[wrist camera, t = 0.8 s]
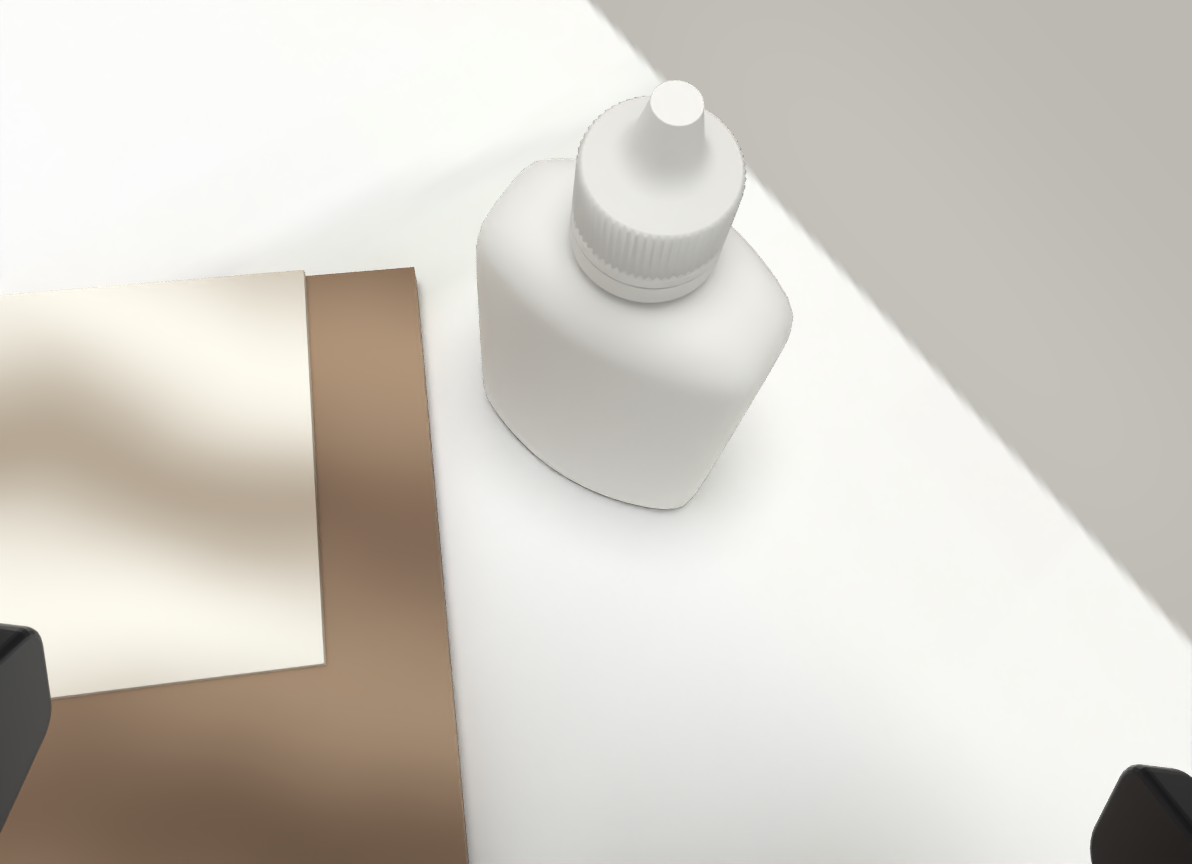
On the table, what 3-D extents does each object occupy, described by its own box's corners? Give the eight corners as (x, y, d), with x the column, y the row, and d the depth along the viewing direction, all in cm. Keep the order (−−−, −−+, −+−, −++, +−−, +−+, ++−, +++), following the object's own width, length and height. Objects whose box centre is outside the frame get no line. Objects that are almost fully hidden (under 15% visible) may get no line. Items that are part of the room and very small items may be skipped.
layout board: (529, 1537, 18) (530, 1582, 17) (-229, 1708, 16) (-278, 1769, 15) (417, 282, 25) (412, 260, 24) (-109, 327, 24) (-137, 306, 23)
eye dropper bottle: (622, 287, 26) (709, -107, 15) (740, 479, 24) (938, 208, 13) (464, 361, 25) (425, 0, 14) (577, 566, 23) (638, 353, 12)
